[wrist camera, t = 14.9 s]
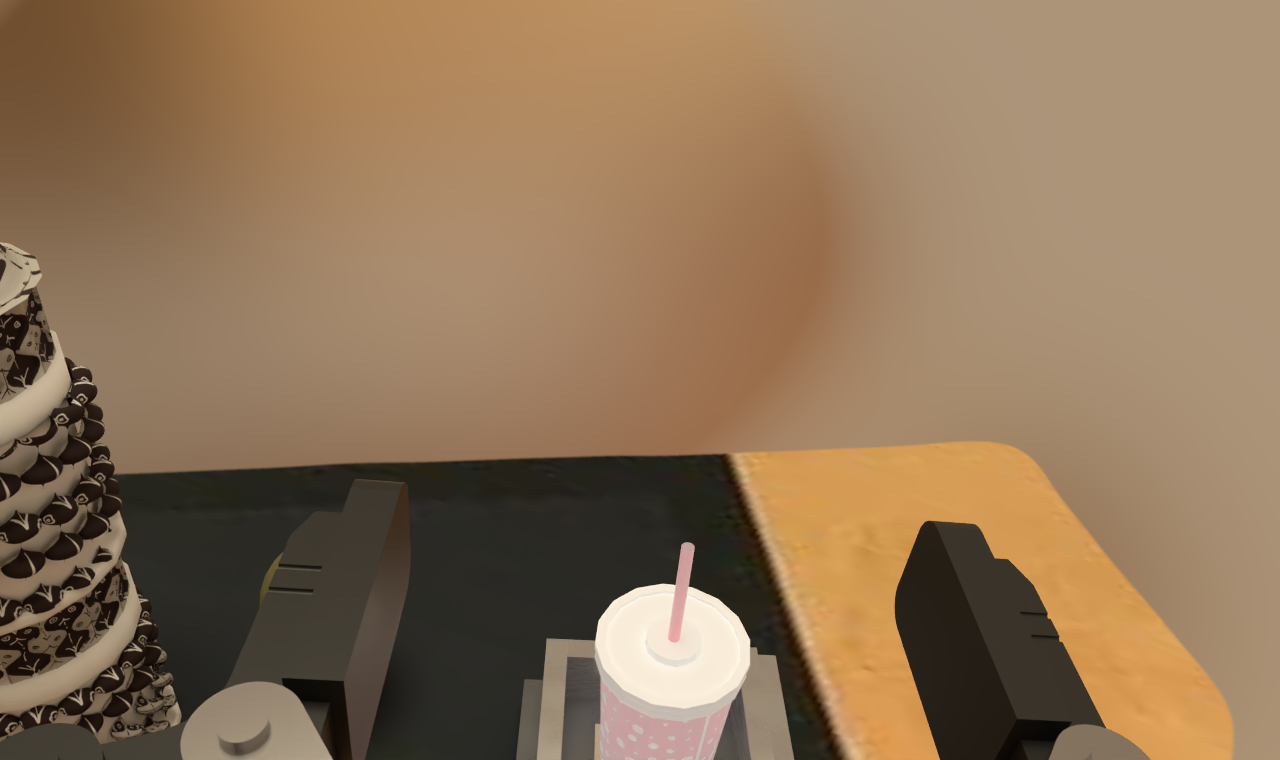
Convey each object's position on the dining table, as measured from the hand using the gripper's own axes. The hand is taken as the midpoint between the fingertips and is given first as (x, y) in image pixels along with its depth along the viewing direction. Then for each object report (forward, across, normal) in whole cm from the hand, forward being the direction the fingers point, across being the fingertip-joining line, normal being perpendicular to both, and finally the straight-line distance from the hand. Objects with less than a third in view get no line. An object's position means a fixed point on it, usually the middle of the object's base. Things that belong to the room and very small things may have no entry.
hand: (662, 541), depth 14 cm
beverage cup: (+13, -4, +27) cm, 30 cm away
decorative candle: (+15, +22, +30) cm, 41 cm away
